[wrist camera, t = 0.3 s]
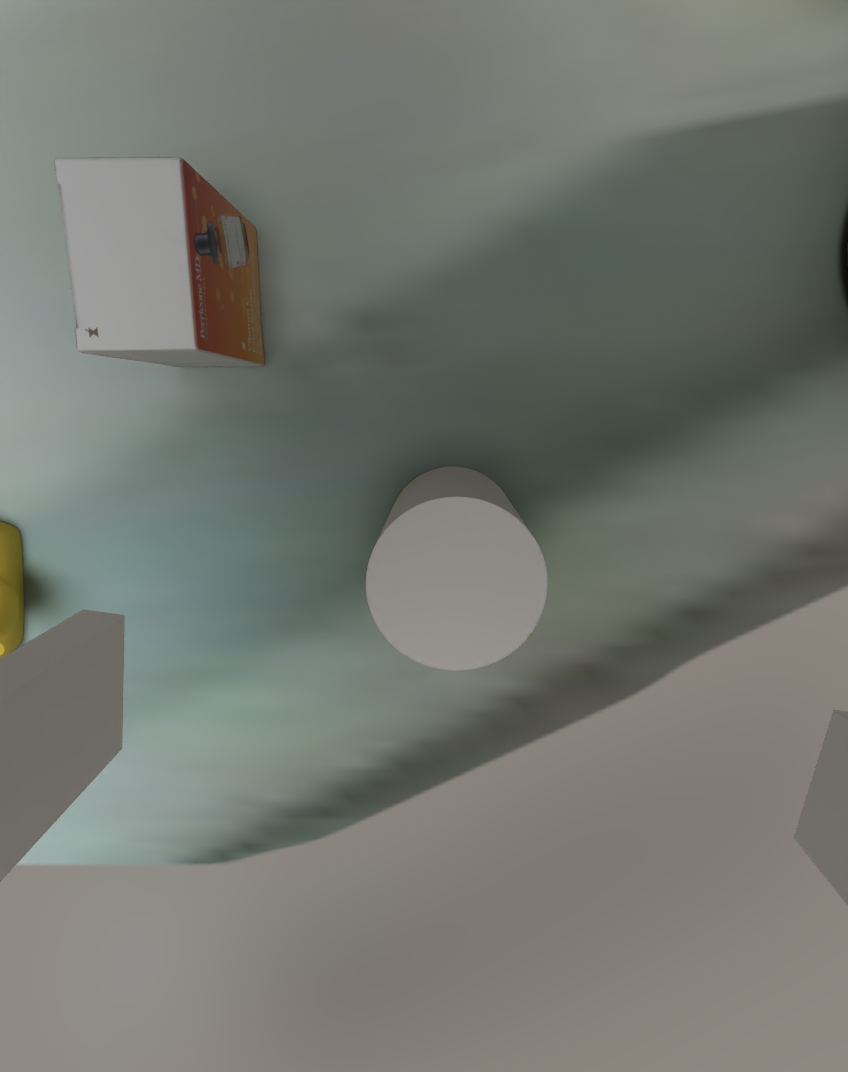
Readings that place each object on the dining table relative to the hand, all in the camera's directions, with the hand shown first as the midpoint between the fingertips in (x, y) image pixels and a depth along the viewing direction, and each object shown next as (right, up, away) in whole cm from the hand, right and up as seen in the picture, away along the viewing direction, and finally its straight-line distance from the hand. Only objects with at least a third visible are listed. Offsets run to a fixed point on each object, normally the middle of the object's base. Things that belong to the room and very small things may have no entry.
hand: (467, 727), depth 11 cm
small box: (-13, +18, +25) cm, 34 cm away
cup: (+1, +4, +28) cm, 28 cm away
